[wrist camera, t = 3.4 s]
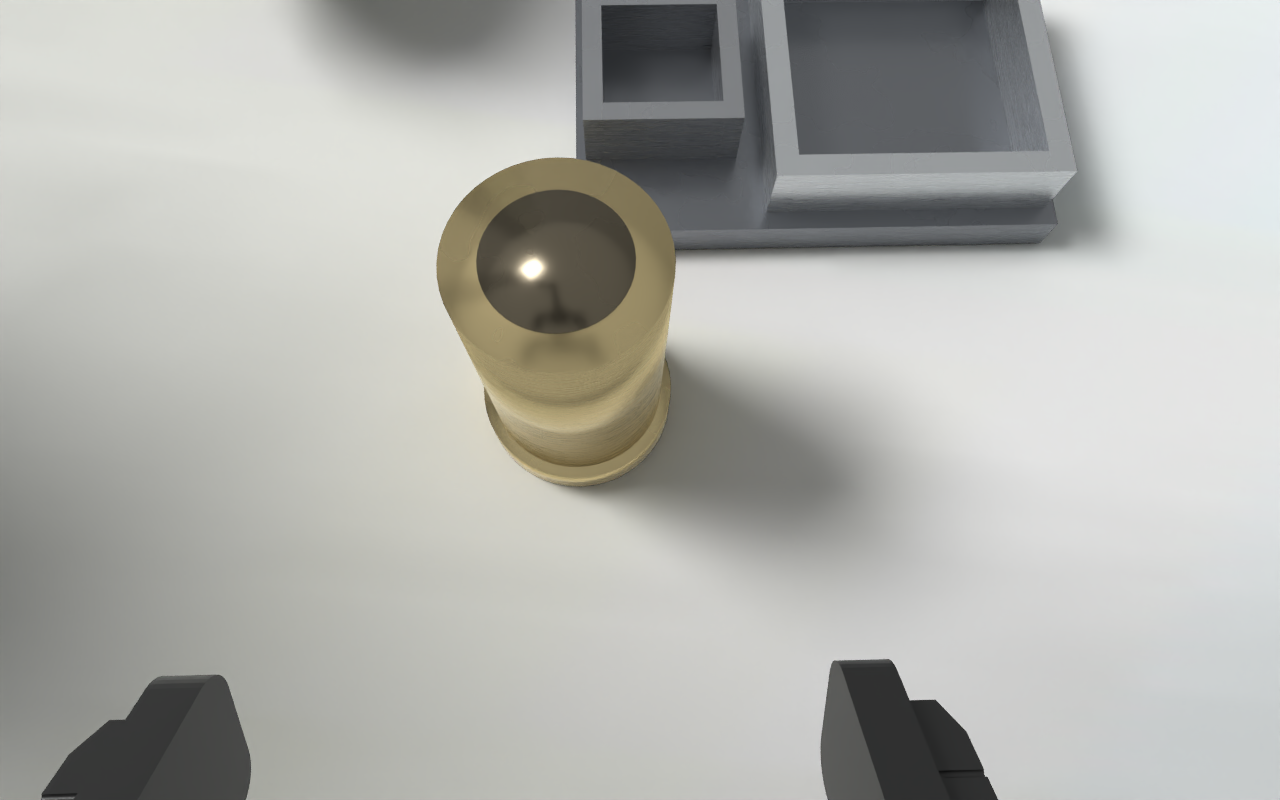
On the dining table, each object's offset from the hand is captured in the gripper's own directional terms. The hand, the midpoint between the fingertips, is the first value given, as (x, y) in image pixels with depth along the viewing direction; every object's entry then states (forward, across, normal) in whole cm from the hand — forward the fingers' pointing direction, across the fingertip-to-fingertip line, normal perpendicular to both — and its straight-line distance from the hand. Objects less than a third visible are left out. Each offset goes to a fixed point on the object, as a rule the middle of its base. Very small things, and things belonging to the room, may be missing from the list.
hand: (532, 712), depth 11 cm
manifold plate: (+22, -8, -4) cm, 23 cm away
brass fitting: (+14, 0, +3) cm, 15 cm away
